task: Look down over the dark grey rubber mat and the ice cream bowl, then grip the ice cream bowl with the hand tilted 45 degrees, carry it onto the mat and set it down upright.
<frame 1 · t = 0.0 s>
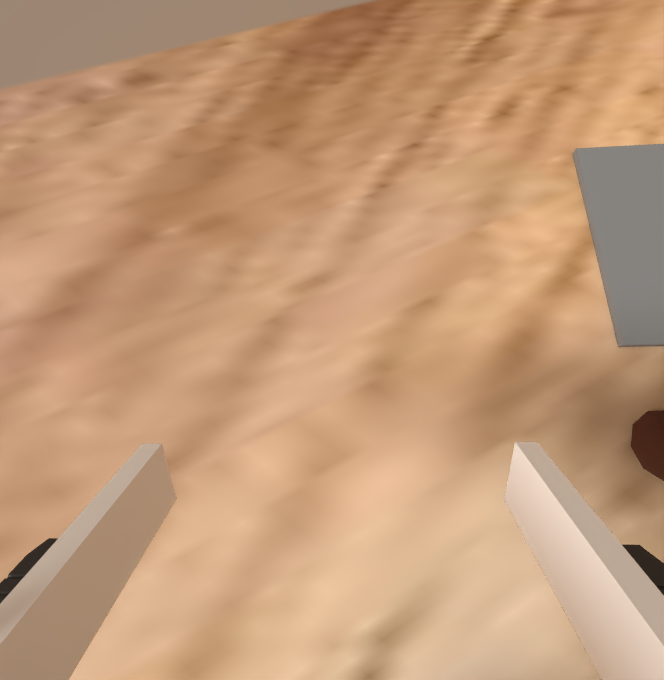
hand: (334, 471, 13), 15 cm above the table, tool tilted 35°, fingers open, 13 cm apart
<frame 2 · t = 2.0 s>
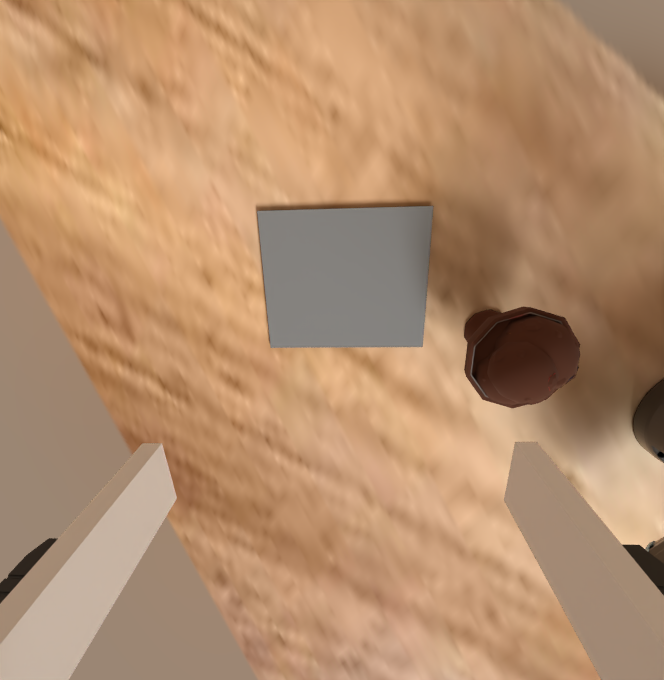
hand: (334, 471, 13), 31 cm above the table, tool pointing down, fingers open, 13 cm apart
grey mat: (344, 282, 41), on the table
ice cream bowl: (485, 329, 43), on the table
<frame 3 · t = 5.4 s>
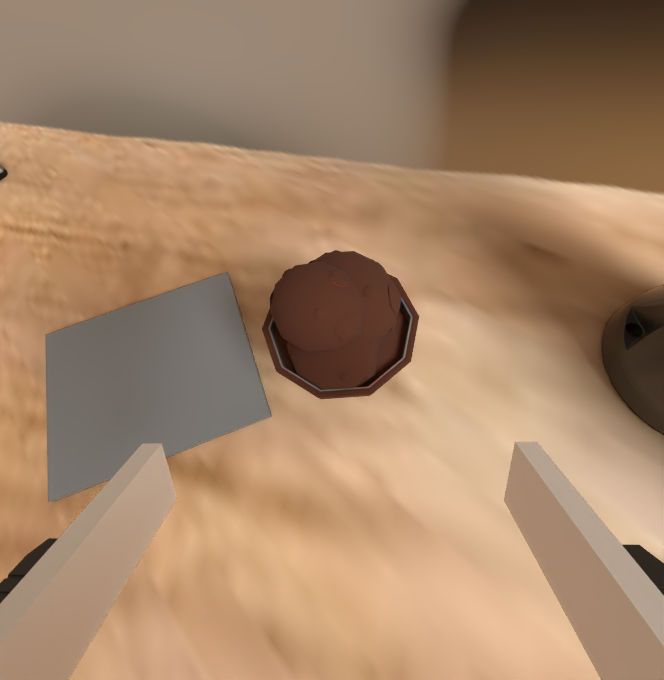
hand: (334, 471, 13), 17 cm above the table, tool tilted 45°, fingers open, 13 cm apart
grey mat: (152, 373, 33), on the table
ice cream bowl: (344, 366, 32), on the table
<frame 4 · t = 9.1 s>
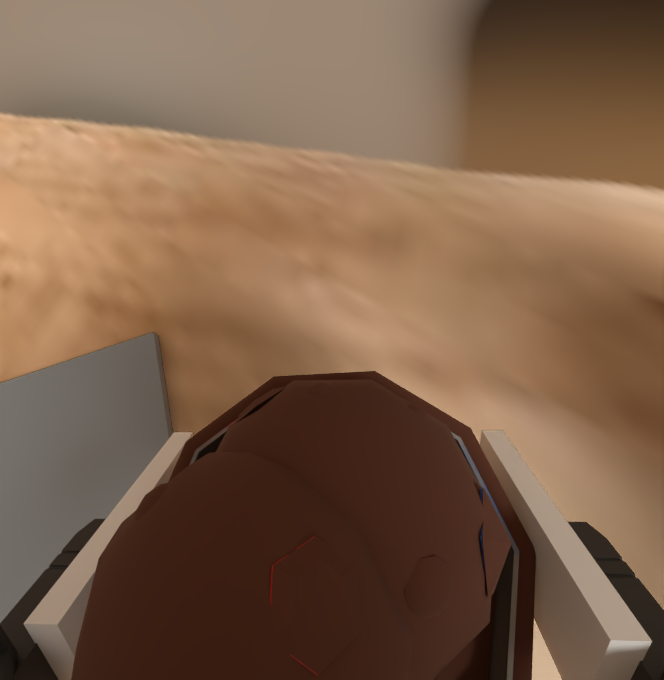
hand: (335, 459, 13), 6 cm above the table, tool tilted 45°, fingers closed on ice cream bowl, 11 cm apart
grey mat: (3, 520, 19), on the table
ice cream bowl: (341, 523, 18), on the table, touching gripper
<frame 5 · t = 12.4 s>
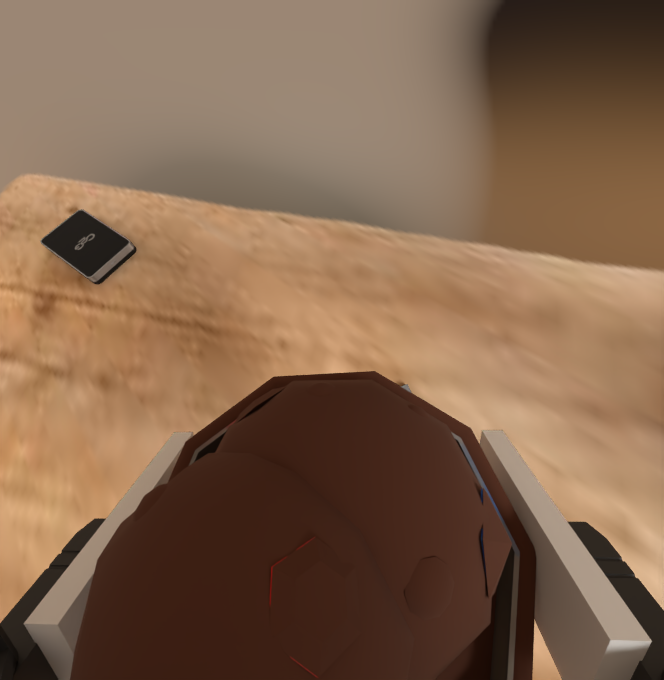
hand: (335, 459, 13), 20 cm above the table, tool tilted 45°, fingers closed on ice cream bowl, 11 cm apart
ice cream bowl: (341, 523, 18), point 14 cm above the table, touching gripper
external hard drive: (96, 252, 45), on the table
when the fingers open (8 cm above the table, at t = 15.7 s): ice cream bowl drops 1 cm, resting on grey mat.
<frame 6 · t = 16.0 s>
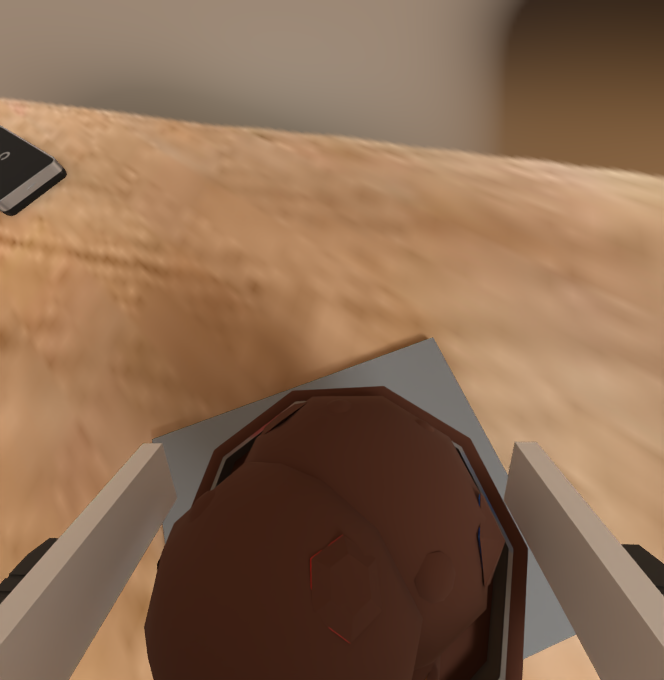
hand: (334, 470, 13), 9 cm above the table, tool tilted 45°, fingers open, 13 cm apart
grey mat: (342, 519, 20), on the table
ice cream bowl: (349, 522, 19), resting on grey mat
external hard drive: (16, 180, 34), on the table
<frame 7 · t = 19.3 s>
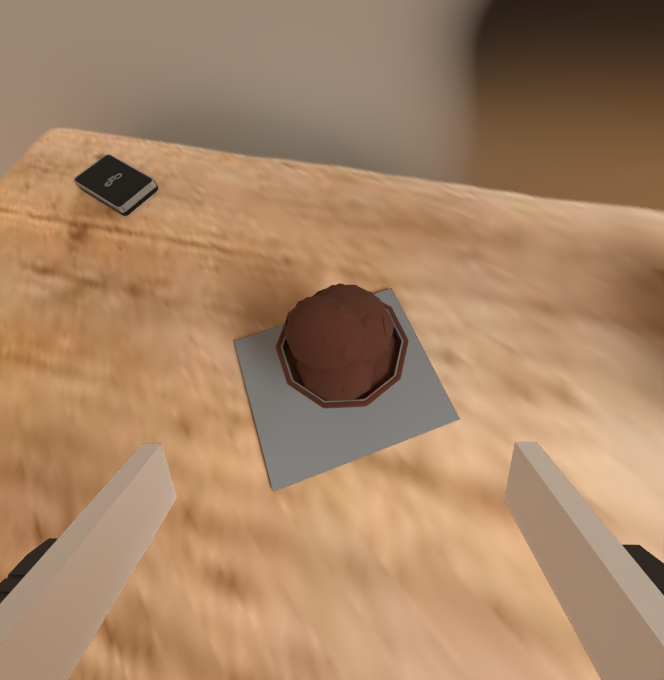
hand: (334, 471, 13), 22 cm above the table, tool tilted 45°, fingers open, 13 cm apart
grey mat: (339, 379, 37), on the table
ice cream bowl: (343, 378, 36), resting on grey mat
external hard drive: (122, 191, 52), on the table
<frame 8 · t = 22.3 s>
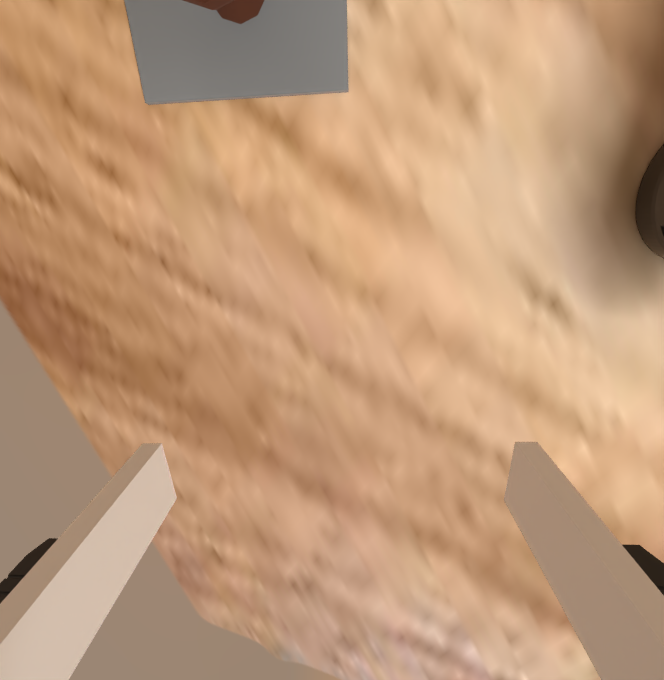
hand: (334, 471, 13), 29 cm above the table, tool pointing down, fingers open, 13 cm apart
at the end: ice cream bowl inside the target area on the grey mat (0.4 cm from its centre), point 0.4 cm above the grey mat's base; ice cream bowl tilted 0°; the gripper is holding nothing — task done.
